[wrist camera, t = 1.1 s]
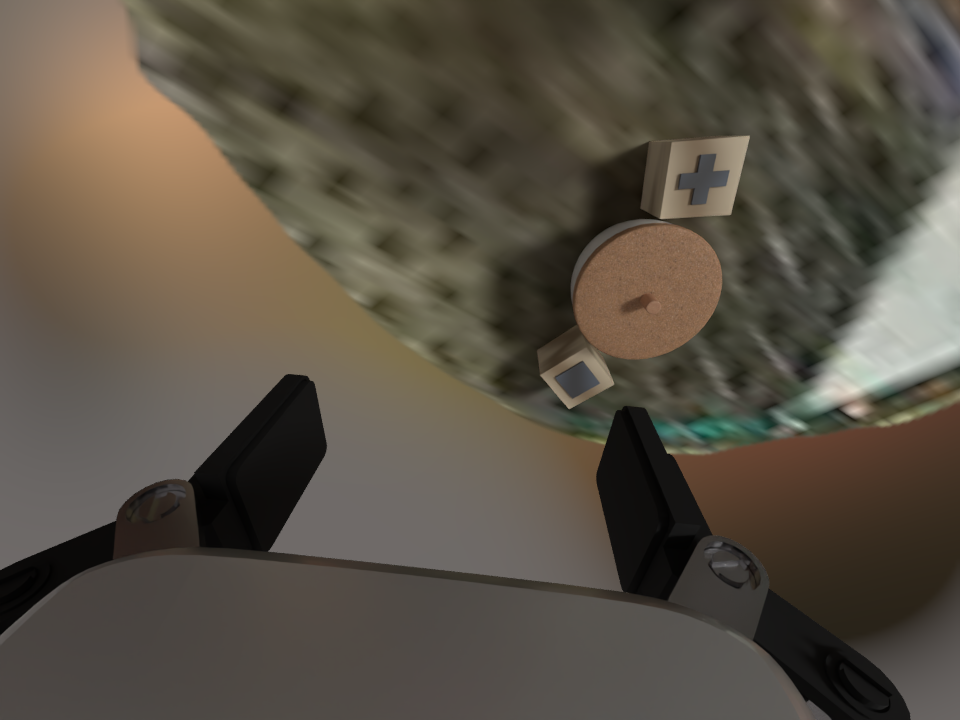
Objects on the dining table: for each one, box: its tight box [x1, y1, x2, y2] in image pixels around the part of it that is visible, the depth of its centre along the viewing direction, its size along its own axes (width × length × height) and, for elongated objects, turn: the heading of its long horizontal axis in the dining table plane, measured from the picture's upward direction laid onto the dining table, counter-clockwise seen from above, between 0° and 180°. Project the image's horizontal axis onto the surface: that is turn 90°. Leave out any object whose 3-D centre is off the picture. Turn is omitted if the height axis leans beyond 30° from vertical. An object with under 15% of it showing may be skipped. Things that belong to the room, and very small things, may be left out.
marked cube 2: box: [640, 136, 750, 219], centre depth 29 cm, size 5×5×5 cm
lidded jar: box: [571, 219, 722, 359], centre depth 31 cm, size 11×11×9 cm
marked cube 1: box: [537, 325, 614, 409], centre depth 38 cm, size 5×5×5 cm
